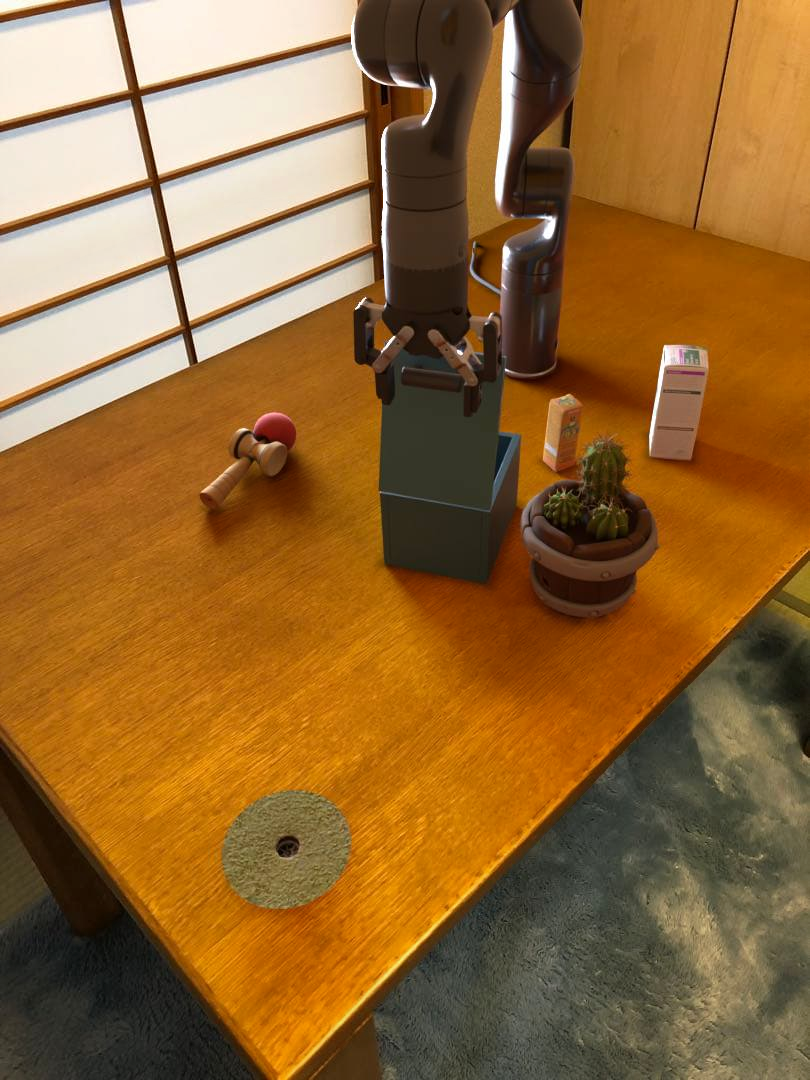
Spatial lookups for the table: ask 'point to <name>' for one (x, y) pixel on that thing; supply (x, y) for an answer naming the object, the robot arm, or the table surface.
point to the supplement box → (562, 432)
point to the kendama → (253, 454)
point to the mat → (286, 849)
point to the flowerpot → (589, 536)
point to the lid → (439, 434)
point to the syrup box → (678, 401)
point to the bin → (453, 525)
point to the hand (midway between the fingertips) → (428, 407)
